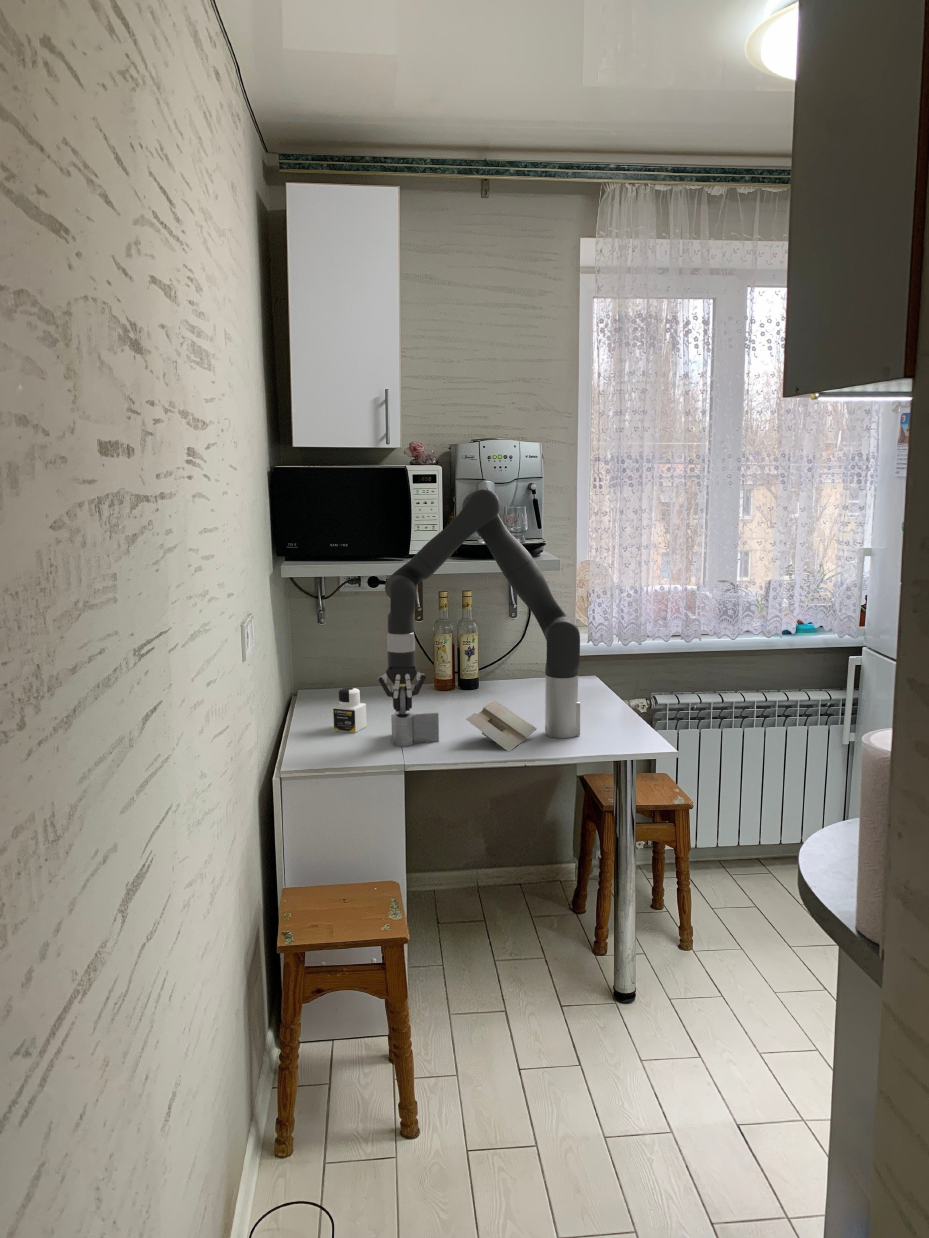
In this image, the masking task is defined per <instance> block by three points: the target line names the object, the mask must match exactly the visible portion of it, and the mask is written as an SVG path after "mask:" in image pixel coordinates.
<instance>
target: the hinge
mask: <svg viewBox="0 0 929 1238" xmlns="http://www.w3.org/2000/svg"><path fill="white" fill-rule="evenodd" d="M395 712H396V711H395ZM390 717H391V744H392V745H393V746H395V747H401V748H404V747H410V746H413V745H414V744H422V743H434V742H435V743H436V742H440V739H439V738H440V734H439V733H440V732H439V730H440V729H439V728H440V727H439V725H440V724H439V723H440V722H439V719H440V718H439V712H428V713H425V712H424V713H412V712H407V717H398V711H397V712H396V713H393V714H391V716H390Z"/></svg>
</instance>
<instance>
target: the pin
mask: <svg viewBox="0 0 929 1238" xmlns="http://www.w3.org/2000/svg"><path fill="white" fill-rule="evenodd" d="M398 698H399V711H398V717H407V713H408V711H407V689H406V684H399V691H398Z"/></svg>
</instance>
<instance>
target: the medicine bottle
mask: <svg viewBox="0 0 929 1238" xmlns="http://www.w3.org/2000/svg"><path fill="white" fill-rule="evenodd" d="M360 693H361V692H360V690H359V689H358V688H356V687H345V688H341V689H340V690H339V691H338V703H339V704H338V705H336V706H333V708H332V710H333V712H332V714H333V731H335V732H341V733H351V734H356V733H358V732H359V731H362V730H363V729H365V728H366V727H367V704H366V703H364V702H361V698H360V697H361V694H360Z"/></svg>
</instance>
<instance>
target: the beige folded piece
mask: <svg viewBox="0 0 929 1238" xmlns="http://www.w3.org/2000/svg"><path fill="white" fill-rule="evenodd" d="M465 720H466V721H467V722H468V723H470V724H471V725H473V726H474V727H475V728H476V729H478V730H479V731H480V732H481V734H482V735H483V736H484V737H486V738H487V739H488V740H490V741H494V742H495V743H496V744H497V745H499V746H500V747H502V748H503V749H504V750H506V751H507V752H511V751H513V749H515V748H516V747H518V746H519V745H520V744H522V742H523V741H525V740H526V739H527V738H529V736H531V735H532V734H533V733H534V732H536V730H538V728H537V727H535V726H534V725H533V724H531V723H530V722H528V721H526V720H525V719H524V718H522V717H521V716H520V715H518V714H517V713H515V712H513V711H512V710H510V709H509V708H507V706H505V705H503V704H502V703H500V702H499V701H497V700H496V699H494V700H493V701H491V702H490V703H488V704H486V705H485V706H484V707H483V708H482V710H480V711H479V712H477V713H475V712H474V713H473V714H471V715H470V716H468V717H466V718H465Z"/></svg>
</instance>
